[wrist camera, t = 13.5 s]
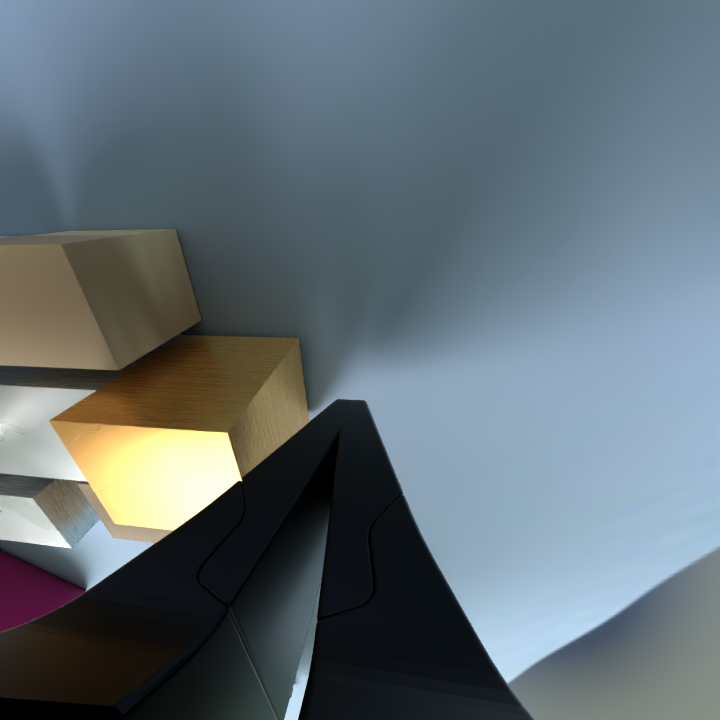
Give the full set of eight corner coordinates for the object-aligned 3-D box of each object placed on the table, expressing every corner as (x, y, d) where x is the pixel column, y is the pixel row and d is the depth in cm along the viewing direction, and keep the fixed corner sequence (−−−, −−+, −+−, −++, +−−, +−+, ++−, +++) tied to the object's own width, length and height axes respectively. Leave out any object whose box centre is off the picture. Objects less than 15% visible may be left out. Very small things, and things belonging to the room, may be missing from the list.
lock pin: (309, 420, 10) (259, 540, 7) (59, 405, 11) (-96, 499, 8) (298, 337, 9) (227, 432, 5) (14, 330, 10) (-202, 403, 6)
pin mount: (244, 471, 12) (200, 548, 9) (174, 465, 12) (113, 537, 10) (175, 228, 8) (61, 244, 5) (73, 230, 8) (-82, 246, 6)
